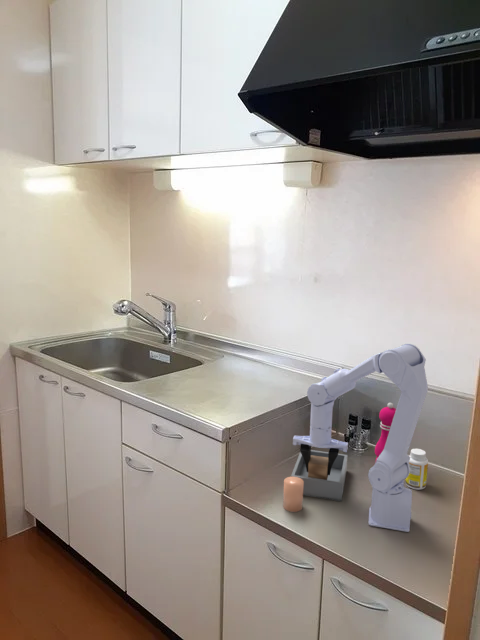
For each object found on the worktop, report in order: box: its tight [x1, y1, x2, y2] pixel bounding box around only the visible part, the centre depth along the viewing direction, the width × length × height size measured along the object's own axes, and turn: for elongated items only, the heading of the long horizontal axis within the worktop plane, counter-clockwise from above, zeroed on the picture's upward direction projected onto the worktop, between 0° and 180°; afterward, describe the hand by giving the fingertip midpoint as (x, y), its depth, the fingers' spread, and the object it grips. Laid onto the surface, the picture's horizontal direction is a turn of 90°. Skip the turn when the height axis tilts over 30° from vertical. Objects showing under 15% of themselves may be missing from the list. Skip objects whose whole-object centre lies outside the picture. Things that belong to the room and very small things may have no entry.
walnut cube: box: [308, 455, 328, 480], centre depth 137 cm, size 5×5×5 cm
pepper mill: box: [374, 402, 396, 464], centre depth 151 cm, size 7×7×20 cm
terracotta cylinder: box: [282, 476, 304, 513], centre depth 129 cm, size 5×5×7 cm
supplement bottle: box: [404, 448, 429, 491], centre depth 140 cm, size 6×6×10 cm
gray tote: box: [290, 449, 348, 502], centre depth 142 cm, size 14×18×5 cm
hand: (318, 471), depth 137 cm, fingers closed on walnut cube, 5 cm apart
